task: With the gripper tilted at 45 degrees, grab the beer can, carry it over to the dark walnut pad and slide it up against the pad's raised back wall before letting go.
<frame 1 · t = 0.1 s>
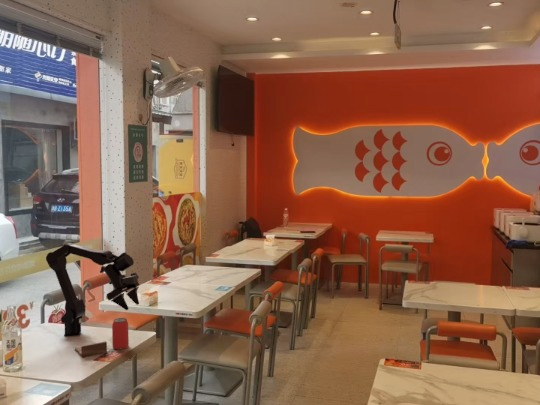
hand: (132, 306, 243), 15 cm above the table, tool tilted 35°, fingers open, 9 cm apart
walnut backstop pad: (91, 351, 229), on the table
beer can: (120, 347, 235), on the table
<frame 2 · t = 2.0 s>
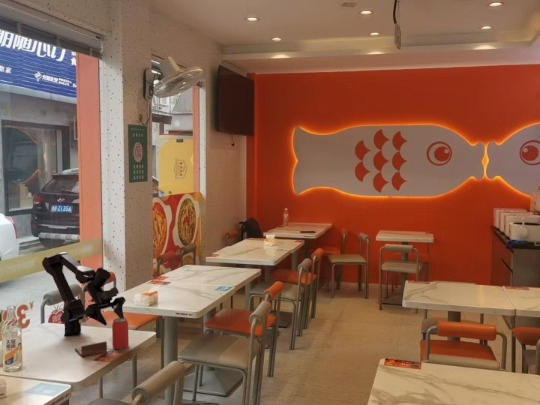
hand: (114, 322, 236), 10 cm above the table, tool tilted 45°, fingers open, 9 cm apart
nothing on the table moved.
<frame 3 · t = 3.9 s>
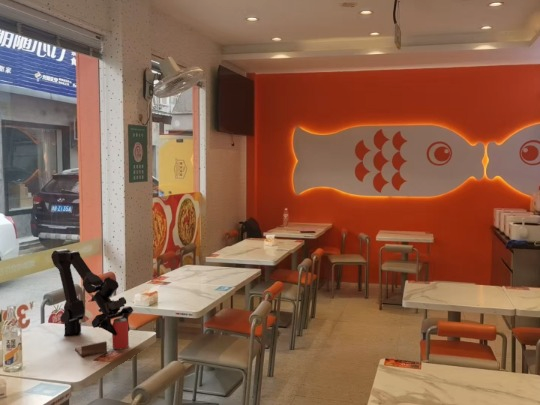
hand: (122, 332, 233), 7 cm above the table, tool tilted 45°, fingers closed on beer can, 7 cm apart
beer can: (120, 347, 235), on the table, touching gripper
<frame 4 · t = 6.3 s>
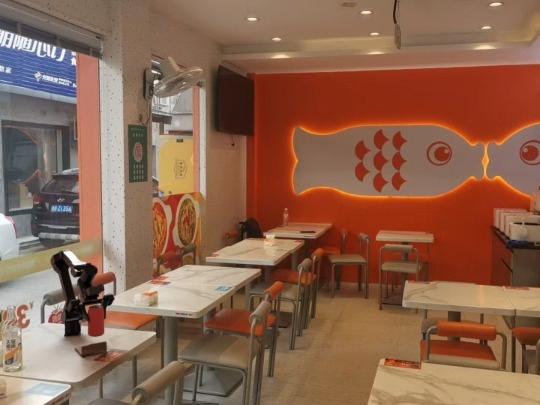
hand: (97, 320, 229), 13 cm above the table, tool tilted 45°, fingers closed on beer can, 7 cm apart
beer can: (96, 335, 231), point 6 cm above the table, touching gripper
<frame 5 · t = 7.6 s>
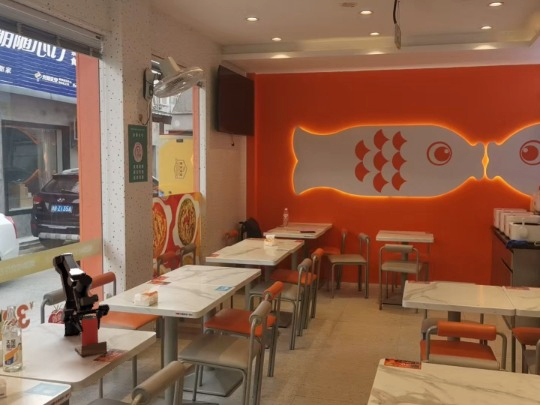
hand: (90, 330, 229), 9 cm above the table, tool tilted 45°, fingers closed on beer can, 7 cm apart
beer can: (89, 345, 231), point 2 cm above the table, touching gripper
when the fingers open (9 cm above the table, at t = 8.6 s): beer can drops 1 cm, resting on walnut backstop pad.
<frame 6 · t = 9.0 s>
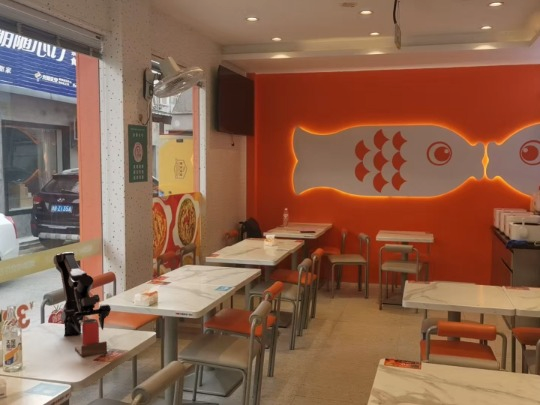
hand: (91, 331, 227), 9 cm above the table, tool tilted 45°, fingers open, 9 cm apart
beer can: (90, 349, 229), point 1 cm above the table, touching walnut backstop pad
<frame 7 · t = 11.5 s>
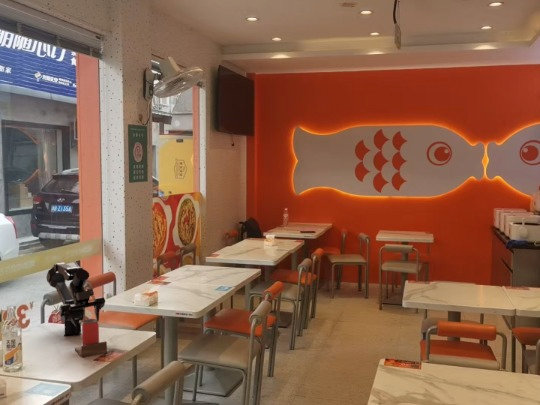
hand: (87, 323, 236), 9 cm above the table, tool tilted 40°, fingers open, 9 cm apart
nothing on the table moved.
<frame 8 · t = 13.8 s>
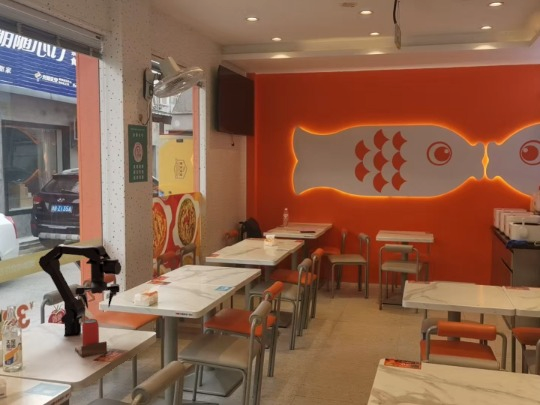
hand: (98, 307, 249), 13 cm above the table, tool pointing down, fingers open, 9 cm apart
nothing on the table moved.
at the end: beer can 0.2 cm off-centre on the walnut backstop pad, point 0.8 cm above the walnut backstop pad's base; beer can tilted 0°; the gripper is holding nothing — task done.
